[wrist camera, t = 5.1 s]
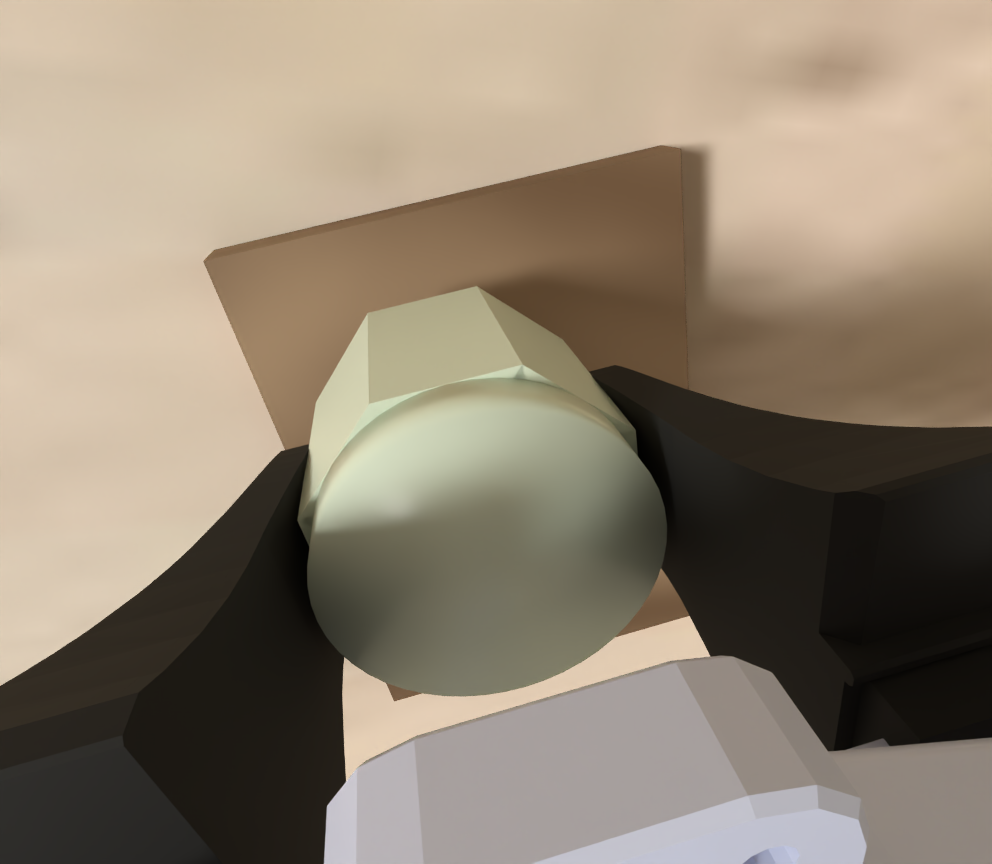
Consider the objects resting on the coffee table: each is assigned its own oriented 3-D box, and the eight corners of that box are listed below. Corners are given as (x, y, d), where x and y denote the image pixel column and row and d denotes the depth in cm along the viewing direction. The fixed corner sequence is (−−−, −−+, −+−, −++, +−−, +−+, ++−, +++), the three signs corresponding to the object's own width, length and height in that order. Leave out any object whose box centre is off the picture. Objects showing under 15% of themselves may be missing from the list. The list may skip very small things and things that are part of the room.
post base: (681, 592, 21) (744, 691, 17) (392, 675, 20) (398, 795, 17) (660, 145, 14) (760, 162, 10) (214, 250, 13) (159, 306, 10)
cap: (583, 481, 15) (674, 643, 10) (369, 539, 14) (370, 731, 10) (551, 267, 12) (657, 364, 8) (289, 332, 12) (244, 472, 7)
